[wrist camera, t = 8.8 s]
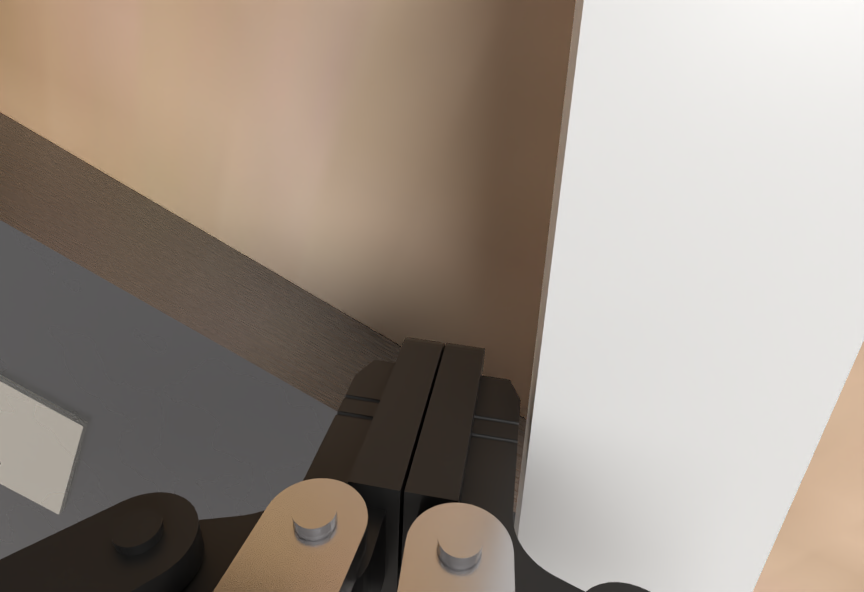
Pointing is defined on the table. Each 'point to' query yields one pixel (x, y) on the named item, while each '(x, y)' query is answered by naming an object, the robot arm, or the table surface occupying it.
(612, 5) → the bar
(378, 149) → the table surface
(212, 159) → the table surface
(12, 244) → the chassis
